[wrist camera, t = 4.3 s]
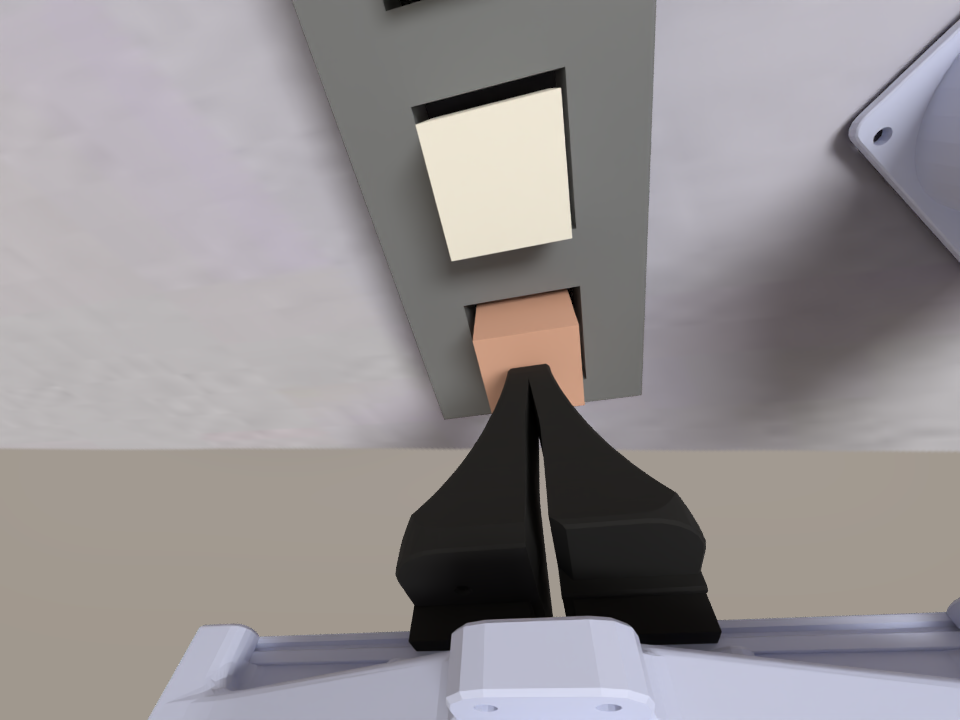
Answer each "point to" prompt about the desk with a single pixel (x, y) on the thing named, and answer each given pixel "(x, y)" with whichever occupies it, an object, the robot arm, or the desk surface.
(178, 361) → the desk surface
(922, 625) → the robot arm
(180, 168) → the desk surface
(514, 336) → the terracotta button
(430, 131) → the cream button
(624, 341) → the button panel
